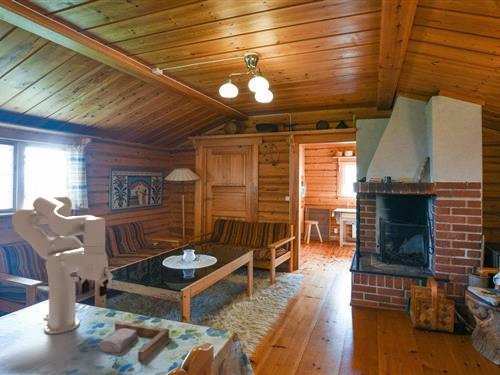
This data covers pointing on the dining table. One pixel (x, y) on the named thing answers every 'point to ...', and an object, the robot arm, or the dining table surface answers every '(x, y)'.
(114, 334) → the stone block
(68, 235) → the robot arm
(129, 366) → the dining table surface
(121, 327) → the wooden corner frame
